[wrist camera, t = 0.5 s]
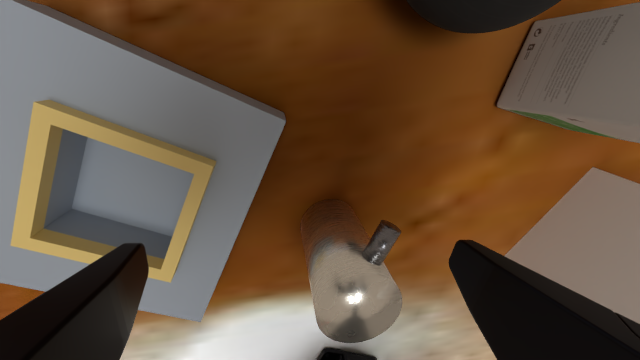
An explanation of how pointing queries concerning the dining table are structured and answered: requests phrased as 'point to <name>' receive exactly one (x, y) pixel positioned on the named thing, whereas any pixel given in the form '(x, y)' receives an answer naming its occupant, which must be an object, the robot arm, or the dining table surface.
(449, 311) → the dining table surface
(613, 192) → the milk
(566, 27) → the skincare box
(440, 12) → the speaker
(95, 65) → the grey flat square piece
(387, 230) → the spout can
